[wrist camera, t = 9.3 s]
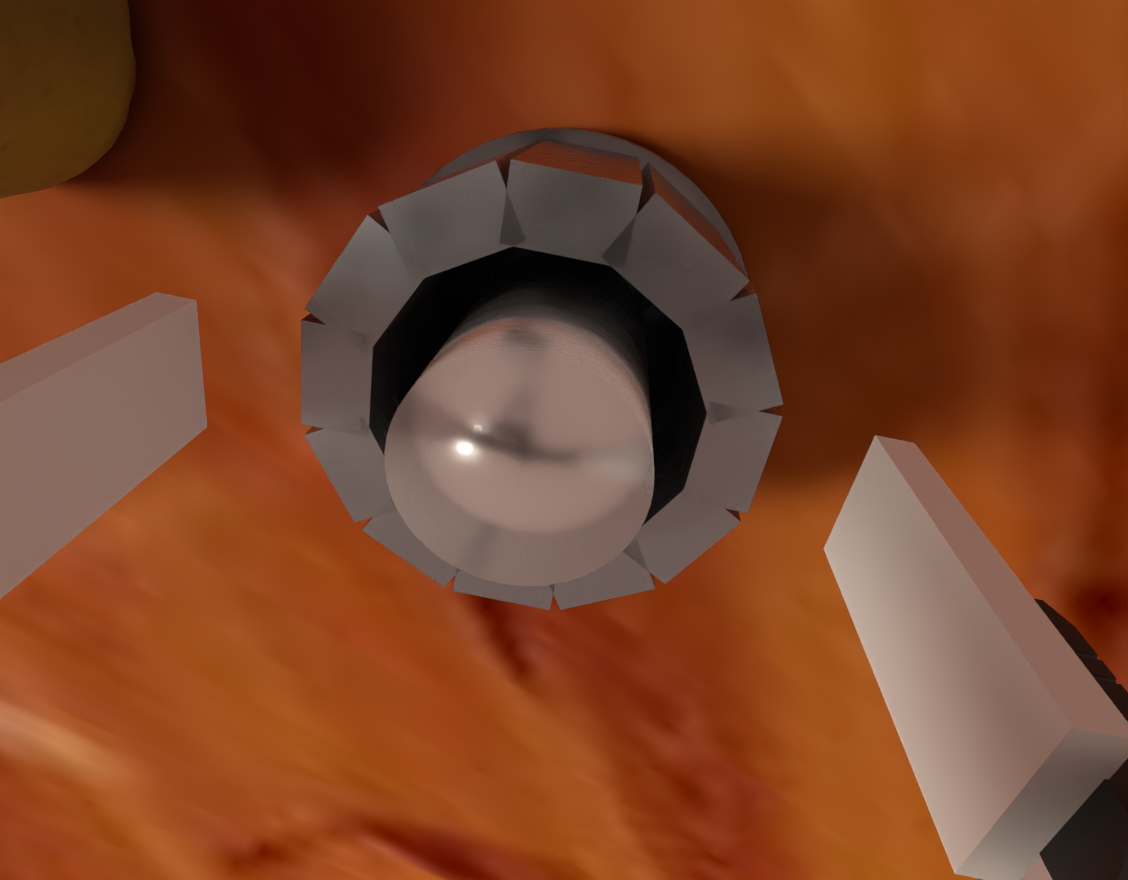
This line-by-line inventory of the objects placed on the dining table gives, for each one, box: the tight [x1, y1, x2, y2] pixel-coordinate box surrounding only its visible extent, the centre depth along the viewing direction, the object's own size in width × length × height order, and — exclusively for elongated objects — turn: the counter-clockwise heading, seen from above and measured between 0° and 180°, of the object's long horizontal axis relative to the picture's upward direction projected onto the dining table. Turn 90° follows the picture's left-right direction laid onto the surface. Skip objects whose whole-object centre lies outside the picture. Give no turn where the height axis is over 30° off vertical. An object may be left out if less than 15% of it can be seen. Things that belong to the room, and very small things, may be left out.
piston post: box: [384, 128, 748, 586], centre depth 17 cm, size 11×11×9 cm
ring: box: [301, 139, 783, 610], centre depth 17 cm, size 10×10×6 cm
